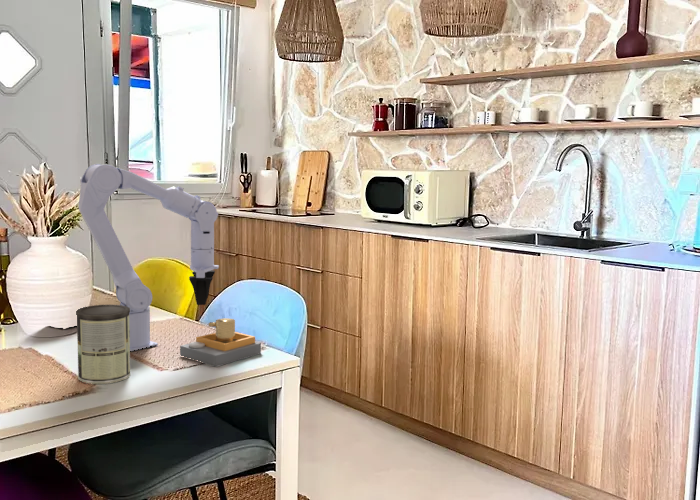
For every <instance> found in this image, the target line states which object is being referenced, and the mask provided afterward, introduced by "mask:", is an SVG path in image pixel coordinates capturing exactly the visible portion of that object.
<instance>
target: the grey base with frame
mask: <svg viewBox="0 0 700 500" xmlns="http://www.w3.org/2000/svg"><path fill="white" fill-rule="evenodd" d="M261 350H262V346H261V342H258V341H256V336H255V335H250V334H246V333H241V332H238V331H235V341H232V342H228V343H222V342H218V341H216V332H213V333H208V334H204V335H200V336H196V337H195V341H192V342H189V343H185V344H183V345H182V344H181V345H180V346H179V356H180V355H181V356H184V357H187V358H191V359H194V360H198V361H201V362H203V363H202V364H204V365H209V366H211V367H212V366H213V367H216V368H217V367H220V366H224V365H227V364H230V363H233V362H237V361H241V360H242V359H243V360H244V359H248V358H251V357H254V356H257V355H260V354H261V353H262V351H261ZM184 357H183V358H184ZM187 358H186V359H187ZM191 359H190V360H191ZM194 360H193V361H194ZM198 361H197V362H198ZM201 362H200V363H201Z"/></svg>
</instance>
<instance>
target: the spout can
mask: <svg viewBox="0 0 700 500" xmlns="http://www.w3.org/2000/svg"><path fill="white" fill-rule="evenodd" d="M208 327H211V328H212V327H213V328H215V333H216V341H218V342H222V343H228V342H232V341H235V332H236V319H235V318H225V317H224V318H217V319H215V321H214V322H211V321H210V322H209V323H208Z"/></svg>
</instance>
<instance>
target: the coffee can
mask: <svg viewBox="0 0 700 500" xmlns="http://www.w3.org/2000/svg"><path fill="white" fill-rule="evenodd" d="M129 313H130V308H129V307H126V306H122V305H120V304H96V305H95V304H94V305H88V306H85V307H83V308H80V309H78V310H77V311H76V315H77V327H76V331H77V335H76V337H77V338H76V339H77V372H78V373H77V374H78V377H77V379H78V381H79V380H80V381H79V382H81V381H82V382H81V383H83V382H86V383H85V384H87V383H92V384H91V385H107V384H113V383H114V384H115V383H119V382H121V381H125V380H127V379H128V378H130V376H131V352H130V329H129Z"/></svg>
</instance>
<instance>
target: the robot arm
mask: <svg viewBox="0 0 700 500" xmlns="http://www.w3.org/2000/svg"><path fill="white" fill-rule="evenodd" d="M118 189H119V190H127V189H131V190H133V191H135V192H139V193H141V194H144V195H146V196H148V197H150V198H153V199H156V200H158V201H160V204H161V205H162V208H164V209H166V210H169V211H170V212H173V213H174V214H177V215H179V216H182V217H184V218H186V219H187V218H188V220H189V221H190V266H189V269H190V270H191V271H192V272H191V273H192V275H190V276H189V278H188V280H189V282H190V284H191V286H192V288H193V293H194V298H195V302H196V305H197V306H206V305H207V301H208V297H209V296H210V295H209V294H210V288H211V283H212V281H213V279H214V275H215V273H216V270H219V268H220V265H219V264H215V222H216V221H217V219H218V217H219V212H218V210H217V208H216V206H215V205H214V204H213V202H211V201H208V200H202V199H201V196H200V195H199V194H198V195H197V194H196V195H194V194H191V193H190V192H186V191H184V187H182V186H178V185H177V186H170V187H168V188H165V187H163V186H161V185H159V184H157V183H155V182H154V181H152V180H149V179H147V178H145V177H142V176H140V175H139V174H137V173H134V172H133V171H129V170H126V169H123V168H119V167H115V166H114V165H112V164H105V163H104V164H102V163H94V164H91V165H90V166H88V167H87V169H85V171H84V173H83V175H82V176H81V178H80V191H79V199H78V210H79V213H80V215H81V217H82V218H83V220H84V222H85V225H86V227H87V229H88V231H89V232H90V234H91V236H92V238H93V240H94V243H95V244H96V246H97V248H98V250H99V252H100V254H101V256H102V258H103V260H104V263H105V264H106V266H107V268H108V270H109V271H110V272H109V273H110V274H111V276H112V282H113V283H114V286H115V296H116V299H117V300H118V302H120V303H119V305H122V306H126V307H129V308H130V313H129V329H130V351H131V352H134V350H135V351H139V350H142V348H143V349H147V348H151V347H150V346H152V347H156V346H158V345H159V343H158V342H155V341H152V340H151V329H150V328H151V320H150V319H151V313H150V312H151V310H150V309H151V308H150V305H151V304H152V302H153V294H152V291H151V289H150V288H149V287H148V286H146V285H144V283H143V281H142V280H141V278H140V277H139V275H138V274H137V273H136V271H135V270H134V268H133V265H132V264H131V261H130V260H129V258H128V256H127V254H126V252H125V250H124V247H123V246H122V243H121V242H120V240H119V237H118V235H117V234H116V231H115V229H114V228H113V225H112V223H111V221H110V219H109V217H108V216H107V213H106V211H105V208H106V205H107V203H108V201H109V199H110V197H111V196H112V195H113V194H114V193H115V192H116V191H117V190H118ZM155 345H156V346H155ZM146 347H147V348H146ZM138 349H139V350H138Z"/></svg>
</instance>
